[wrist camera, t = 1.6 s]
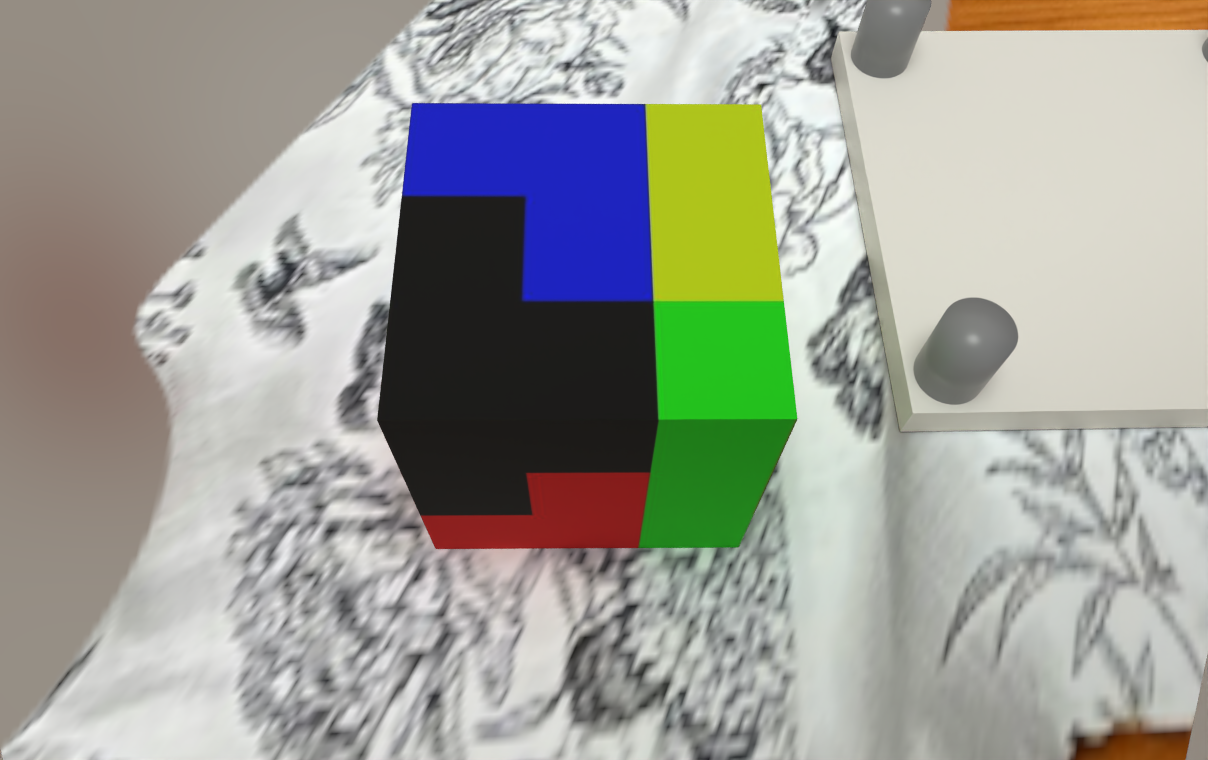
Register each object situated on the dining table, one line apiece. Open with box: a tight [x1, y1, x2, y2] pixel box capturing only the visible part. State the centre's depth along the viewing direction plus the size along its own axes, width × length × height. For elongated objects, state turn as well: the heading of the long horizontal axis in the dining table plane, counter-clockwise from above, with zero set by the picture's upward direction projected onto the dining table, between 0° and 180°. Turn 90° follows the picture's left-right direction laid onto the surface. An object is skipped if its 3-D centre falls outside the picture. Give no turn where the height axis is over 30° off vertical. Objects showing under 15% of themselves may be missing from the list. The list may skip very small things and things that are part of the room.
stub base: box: [831, 0, 1208, 432], centre depth 36 cm, size 18×18×4 cm
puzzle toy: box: [377, 103, 797, 549], centre depth 29 cm, size 10×10×10 cm
